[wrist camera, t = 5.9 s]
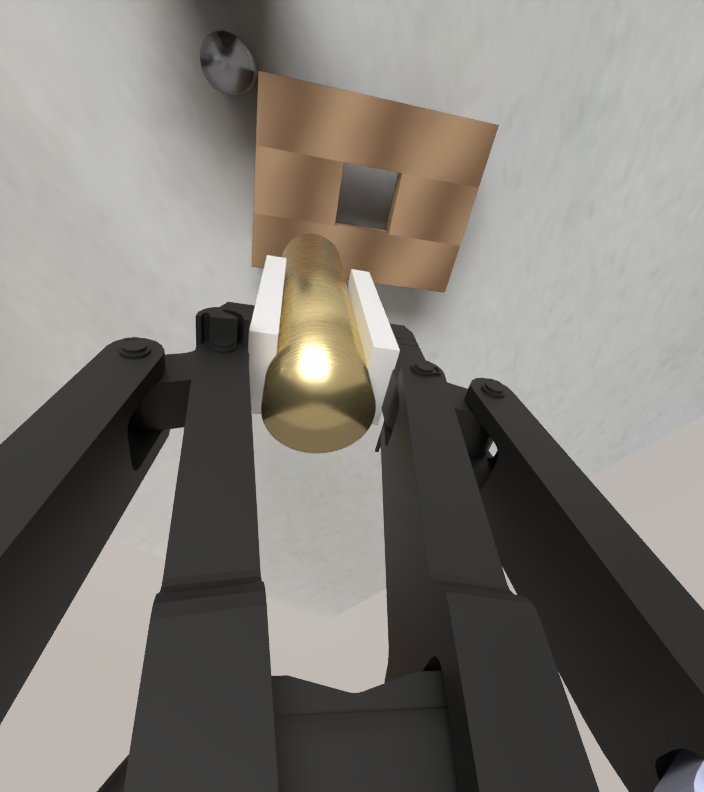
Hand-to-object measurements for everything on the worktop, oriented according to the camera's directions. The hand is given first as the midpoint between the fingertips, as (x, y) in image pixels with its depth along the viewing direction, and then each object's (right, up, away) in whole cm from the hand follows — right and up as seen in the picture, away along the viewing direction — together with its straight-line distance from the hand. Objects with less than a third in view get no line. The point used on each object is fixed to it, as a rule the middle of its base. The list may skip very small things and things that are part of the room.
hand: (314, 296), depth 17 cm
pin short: (-7, +19, +12) cm, 24 cm away
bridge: (+2, +14, +17) cm, 22 cm away
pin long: (0, +2, +3) cm, 4 cm away
